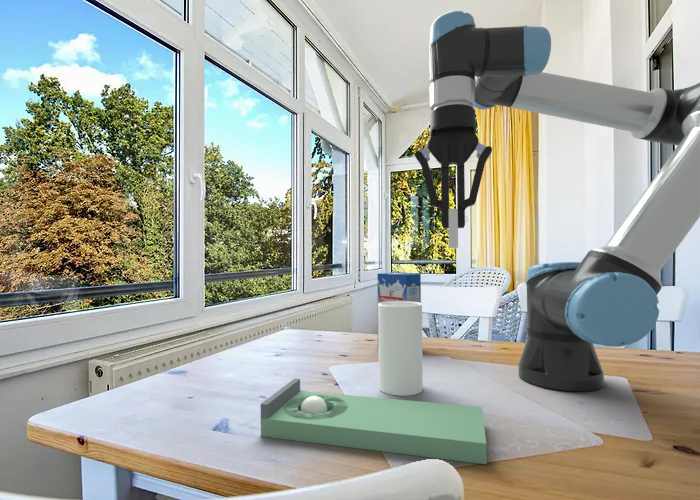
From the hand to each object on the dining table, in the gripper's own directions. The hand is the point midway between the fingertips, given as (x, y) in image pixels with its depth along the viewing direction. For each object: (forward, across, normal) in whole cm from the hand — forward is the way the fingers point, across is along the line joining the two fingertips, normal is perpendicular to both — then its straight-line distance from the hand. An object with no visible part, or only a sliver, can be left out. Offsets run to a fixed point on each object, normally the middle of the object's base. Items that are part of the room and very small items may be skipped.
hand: (453, 247), depth 69 cm
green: (+26, +11, +14) cm, 32 cm away
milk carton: (+27, +15, -37) cm, 48 cm away
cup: (+27, +10, -5) cm, 29 cm away
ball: (+24, +20, +14) cm, 35 cm away
